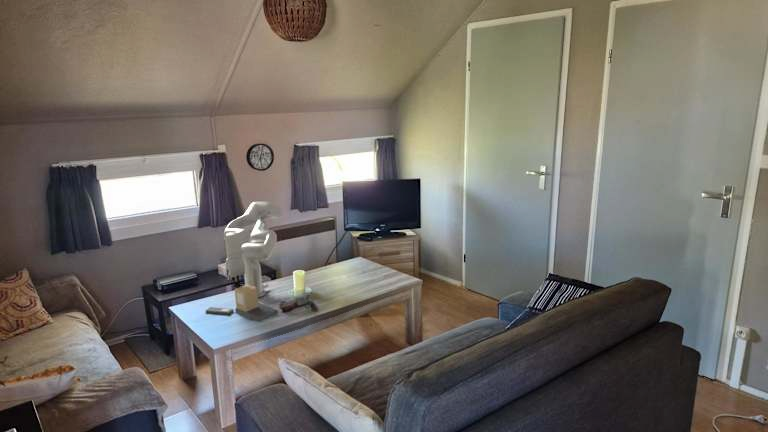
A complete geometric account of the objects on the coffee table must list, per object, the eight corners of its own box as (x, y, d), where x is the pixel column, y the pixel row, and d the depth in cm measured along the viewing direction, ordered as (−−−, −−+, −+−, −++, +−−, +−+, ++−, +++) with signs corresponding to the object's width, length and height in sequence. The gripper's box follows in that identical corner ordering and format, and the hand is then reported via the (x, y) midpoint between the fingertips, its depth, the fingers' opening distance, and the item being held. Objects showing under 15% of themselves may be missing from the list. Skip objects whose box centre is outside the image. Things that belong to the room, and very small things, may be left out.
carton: (248, 303, 268) (246, 284, 265) (258, 306, 263) (256, 287, 261) (236, 308, 262) (234, 289, 259) (246, 311, 257) (244, 292, 254)
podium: (253, 304, 271) (253, 300, 271) (277, 313, 260) (277, 309, 259) (235, 312, 262) (235, 308, 262) (260, 322, 251) (259, 317, 250)
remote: (205, 313, 262) (205, 310, 262) (210, 310, 267) (210, 306, 266) (229, 315, 259) (229, 312, 259) (233, 312, 263) (233, 308, 263)
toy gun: (283, 316, 265) (278, 299, 262) (319, 308, 265) (314, 291, 263) (282, 319, 260) (277, 303, 258) (318, 311, 261) (314, 294, 259)
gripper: (241, 250, 268) (244, 281, 272) (218, 257, 256) (221, 290, 260) (250, 252, 263) (252, 284, 268) (226, 260, 252) (229, 293, 256)
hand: (237, 287), depth 264 cm, fingers closed
